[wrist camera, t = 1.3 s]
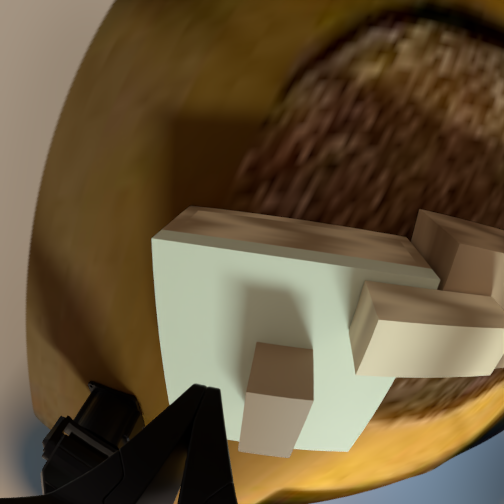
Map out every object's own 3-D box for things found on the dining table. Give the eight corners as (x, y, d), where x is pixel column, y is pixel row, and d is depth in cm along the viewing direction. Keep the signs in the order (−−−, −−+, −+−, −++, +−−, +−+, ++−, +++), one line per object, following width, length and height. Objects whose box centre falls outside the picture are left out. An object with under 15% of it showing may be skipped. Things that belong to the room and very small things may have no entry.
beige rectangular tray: (192, 378, 26) (173, 426, 20) (191, 174, 18) (150, 197, 13) (448, 399, 23) (463, 442, 18) (531, 238, 16) (573, 271, 11)
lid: (180, 408, 22) (160, 461, 17) (167, 224, 16) (113, 272, 11) (346, 432, 21) (349, 487, 16) (426, 262, 14) (470, 322, 9)
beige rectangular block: (348, 332, 14) (355, 375, 12) (365, 280, 13) (378, 319, 10) (470, 340, 14) (490, 374, 11) (492, 296, 12) (518, 329, 10)
